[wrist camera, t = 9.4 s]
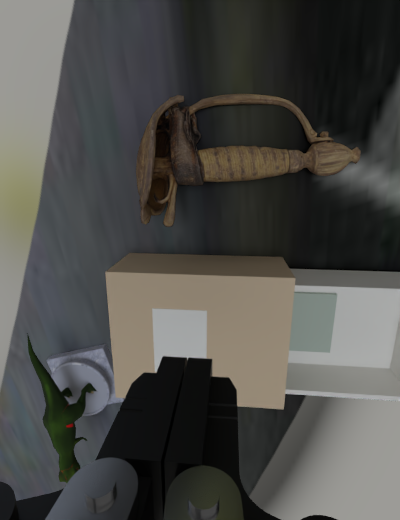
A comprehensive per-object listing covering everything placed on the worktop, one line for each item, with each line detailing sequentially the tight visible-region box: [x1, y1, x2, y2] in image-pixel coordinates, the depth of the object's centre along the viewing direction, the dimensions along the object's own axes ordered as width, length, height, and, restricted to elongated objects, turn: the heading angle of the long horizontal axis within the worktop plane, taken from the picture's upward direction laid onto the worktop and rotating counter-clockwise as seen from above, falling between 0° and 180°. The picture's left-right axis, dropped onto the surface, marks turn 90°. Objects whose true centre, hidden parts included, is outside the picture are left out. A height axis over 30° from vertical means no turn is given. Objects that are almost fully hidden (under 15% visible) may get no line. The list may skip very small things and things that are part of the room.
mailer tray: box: [285, 269, 400, 401], centre depth 37 cm, size 14×19×6 cm
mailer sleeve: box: [105, 253, 296, 409], centre depth 39 cm, size 16×20×8 cm
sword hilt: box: [136, 94, 360, 227], centre depth 33 cm, size 10×24×15 cm
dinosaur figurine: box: [27, 333, 125, 483], centre depth 41 cm, size 9×20×12 cm, turn 16°
